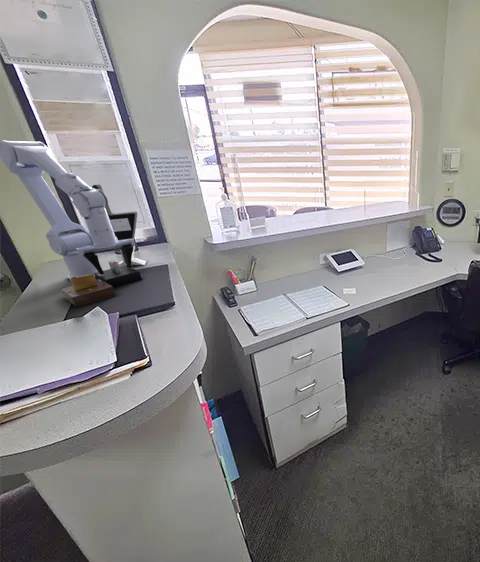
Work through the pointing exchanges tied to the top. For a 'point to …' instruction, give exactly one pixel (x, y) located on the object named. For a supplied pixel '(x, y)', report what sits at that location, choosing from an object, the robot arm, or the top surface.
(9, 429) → the top surface
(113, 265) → the block
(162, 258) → the top surface
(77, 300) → the brown wooden base
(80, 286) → the block
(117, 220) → the award
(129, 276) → the back plate
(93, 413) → the top surface
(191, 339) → the top surface
